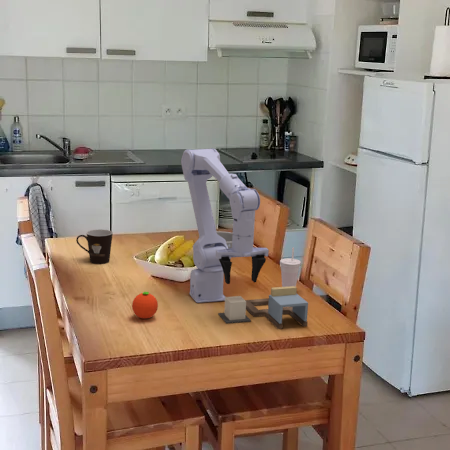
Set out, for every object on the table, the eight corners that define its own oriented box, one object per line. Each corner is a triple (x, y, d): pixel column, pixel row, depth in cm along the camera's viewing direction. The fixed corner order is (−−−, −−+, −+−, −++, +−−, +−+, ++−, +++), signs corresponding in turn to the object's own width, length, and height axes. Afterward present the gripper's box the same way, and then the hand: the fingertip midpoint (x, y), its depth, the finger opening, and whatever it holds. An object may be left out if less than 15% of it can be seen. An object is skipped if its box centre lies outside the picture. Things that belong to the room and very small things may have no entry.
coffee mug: (117, 260, 239) (118, 232, 237) (100, 266, 232) (100, 237, 230) (92, 254, 245) (92, 226, 243) (74, 260, 238) (74, 231, 236)
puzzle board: (266, 330, 185) (266, 325, 185) (241, 304, 203) (241, 300, 203) (318, 325, 190) (318, 320, 190) (289, 300, 208) (289, 296, 208)
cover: (279, 323, 186) (280, 297, 184) (267, 312, 193) (269, 287, 192) (306, 321, 189) (308, 295, 187) (294, 310, 196) (296, 285, 194)
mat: (226, 323, 188) (226, 322, 188) (218, 314, 195) (218, 312, 195) (250, 321, 191) (250, 320, 191) (242, 312, 197) (242, 310, 197)
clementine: (134, 311, 195) (135, 286, 193) (159, 312, 195) (160, 287, 193) (129, 321, 187) (130, 296, 185) (155, 323, 187) (156, 298, 185)
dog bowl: (199, 242, 267) (200, 228, 266) (248, 246, 265) (248, 232, 264) (191, 254, 251) (192, 240, 250) (242, 258, 249) (243, 244, 247)
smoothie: (297, 295, 212) (300, 251, 209) (276, 293, 213) (279, 249, 210) (299, 289, 218) (303, 245, 215) (279, 287, 220) (282, 243, 216)
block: (229, 320, 190) (230, 302, 189) (224, 314, 194) (225, 297, 193) (245, 318, 191) (246, 301, 190) (239, 313, 195) (240, 295, 194)
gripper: (222, 239, 184) (219, 288, 187) (273, 236, 188) (270, 285, 191) (214, 232, 190) (212, 280, 193) (264, 230, 195) (261, 276, 198)
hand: (240, 282), depth 193 cm, fingers open, 7 cm apart
